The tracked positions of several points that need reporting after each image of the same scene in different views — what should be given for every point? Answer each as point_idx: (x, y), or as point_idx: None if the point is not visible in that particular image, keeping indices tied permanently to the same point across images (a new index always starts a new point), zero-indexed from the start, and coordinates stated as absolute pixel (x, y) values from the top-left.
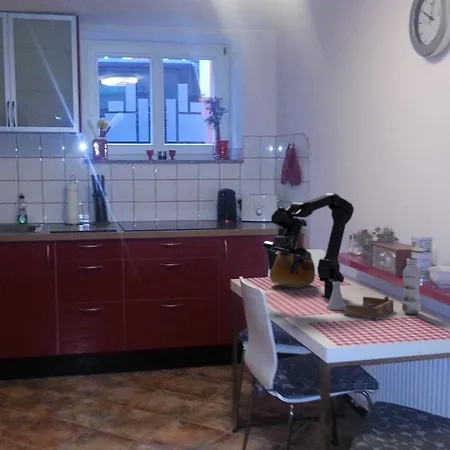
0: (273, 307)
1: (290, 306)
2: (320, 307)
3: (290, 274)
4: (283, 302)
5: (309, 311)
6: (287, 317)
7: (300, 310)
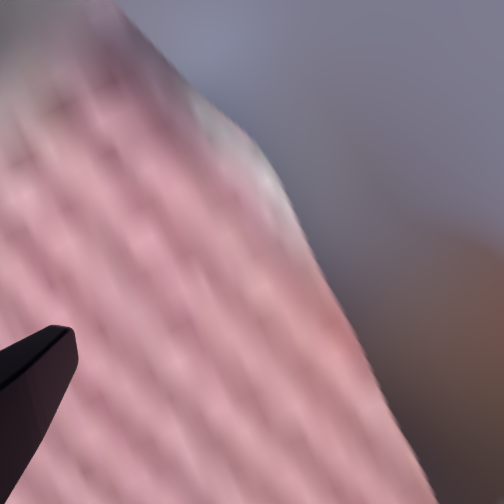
0: (309, 258)
1: (212, 338)
2: None
3: (59, 329)
4: (307, 430)
5: (28, 255)
6: (90, 14)
7: (98, 256)
